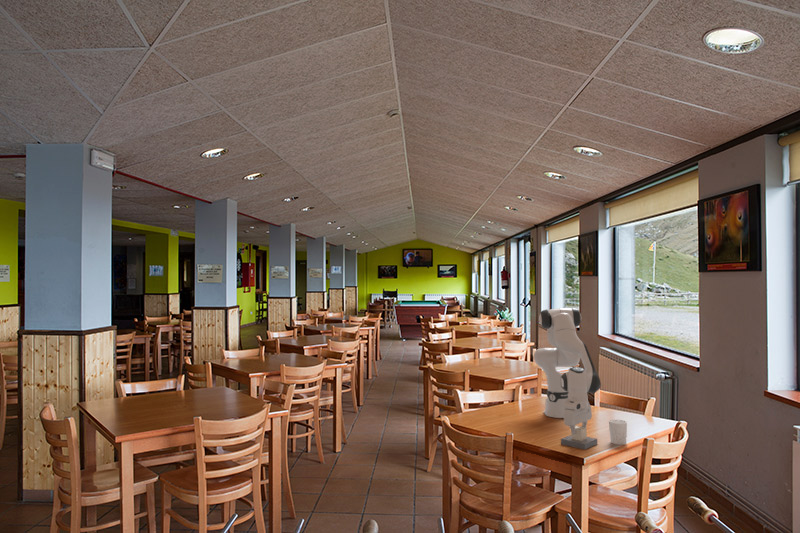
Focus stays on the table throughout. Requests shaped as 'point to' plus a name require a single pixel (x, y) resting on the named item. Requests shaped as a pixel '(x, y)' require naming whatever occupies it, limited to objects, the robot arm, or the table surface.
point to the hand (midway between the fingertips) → (578, 432)
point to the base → (579, 442)
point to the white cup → (618, 431)
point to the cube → (580, 434)
